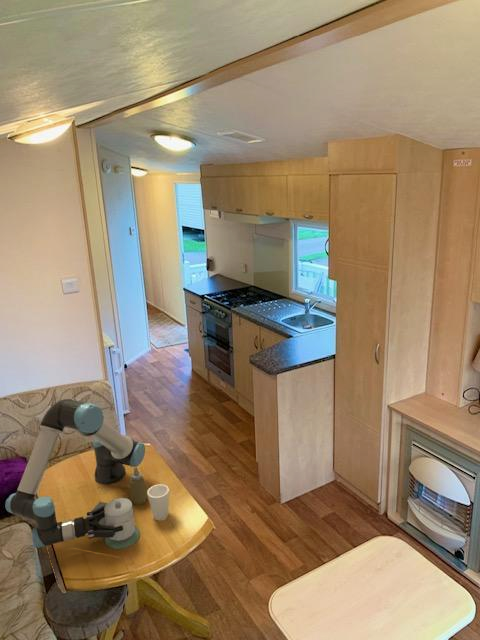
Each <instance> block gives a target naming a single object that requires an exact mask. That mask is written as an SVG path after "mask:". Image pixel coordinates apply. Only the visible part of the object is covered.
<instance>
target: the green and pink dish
mask: <svg viewBox="0 0 480 640" xmlns="http://www.w3.org/2000/svg"><path fill="white" fill-rule="evenodd" d="M140 533H141V532H140V529H139V527H138V526H136V525H135V531H134V533H133V534H132V535H131V536H130V537H128V538H126V539H124V540H119V541H117V540H112V539H110V538H109V537H104V538H105V544H106V546H108V547H109V548H112V549H115V550H118V549H119V550H121V549H125V548H129V547H131V546H132V545H134V544H136V543H137V542H138V541H139V539H140Z"/></svg>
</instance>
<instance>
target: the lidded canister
mask: <svg viewBox="0 0 480 640" xmlns="http://www.w3.org/2000/svg"><path fill="white" fill-rule="evenodd" d="M106 503H107V504H106V506H105V508H104V510H105V519H106V526H111V527H114V525H117V524H121V523H125V522H129V521H131V527H132V528H129V529H125V530H122V531H119V532H115V535H114V537H109V538H110V539H112V540H117V541H119V540H124V539H126V538H128V537H130V536H131V535H132V534H133V533H134V531H135V526H136V525H135V517H134V511H133V501H132V500H131V499H129V498H125V497H117V498H114V499H112V500H110V501H108V502H106ZM114 528H115V527H114Z"/></svg>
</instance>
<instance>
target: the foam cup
mask: <svg viewBox="0 0 480 640" xmlns="http://www.w3.org/2000/svg"><path fill="white" fill-rule="evenodd" d="M147 500H148V502H149V505H150V510H151V512H152V517H153V519H154V520H155V521H157V520H158V521H157V522H159V520H162V521H164V520H166V519H167V518H168V516H169V505H170V503H169V502H170V501H169V500H170V488H169V487H168V486H167V485H166V484H163V483H160V484H155V485H151V487H150V488H148V489H147Z"/></svg>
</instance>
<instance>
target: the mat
mask: <svg viewBox="0 0 480 640" xmlns="http://www.w3.org/2000/svg"><path fill="white" fill-rule="evenodd" d="M107 503H108V502H104V501H99V502H98V503H97V504H96V505H95V507H94V508H93V509H92V510H91V511H94V510H96V509H98V508H100V507H102V506H104V505H106V504H107ZM92 515H93V514H92ZM85 518H87V516H86V517H85ZM98 523H99V524H100V525H105V526H106V519H105V517H104V518H102V519H101V520H100V521H99V522H98Z"/></svg>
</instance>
